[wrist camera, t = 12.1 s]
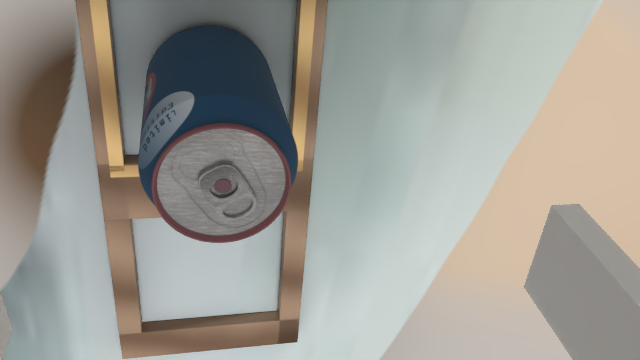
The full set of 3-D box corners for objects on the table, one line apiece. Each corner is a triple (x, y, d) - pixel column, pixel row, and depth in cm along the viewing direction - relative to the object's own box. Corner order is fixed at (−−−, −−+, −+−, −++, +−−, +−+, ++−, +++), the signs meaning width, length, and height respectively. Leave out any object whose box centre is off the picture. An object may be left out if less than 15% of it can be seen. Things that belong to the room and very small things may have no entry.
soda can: (121, 54, 33) (99, 164, 23) (232, -4, 32) (258, 81, 22) (188, 149, 36) (193, 278, 27) (288, 98, 36) (331, 209, 26)
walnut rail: (70, -66, 29) (66, -61, 28) (327, -53, 32) (333, -49, 31) (123, 348, 44) (122, 361, 43) (295, 332, 47) (297, 343, 46)
